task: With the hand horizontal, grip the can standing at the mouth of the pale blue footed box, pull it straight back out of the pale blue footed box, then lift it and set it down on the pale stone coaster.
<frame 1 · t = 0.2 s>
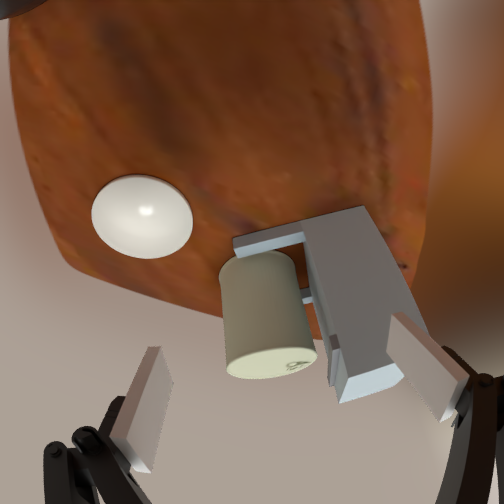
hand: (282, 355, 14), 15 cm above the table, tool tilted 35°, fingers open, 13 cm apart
pale blue footed box: (257, 274, 33), on the table
can: (257, 273, 33), on the table
coaster: (141, 219, 25), on the table
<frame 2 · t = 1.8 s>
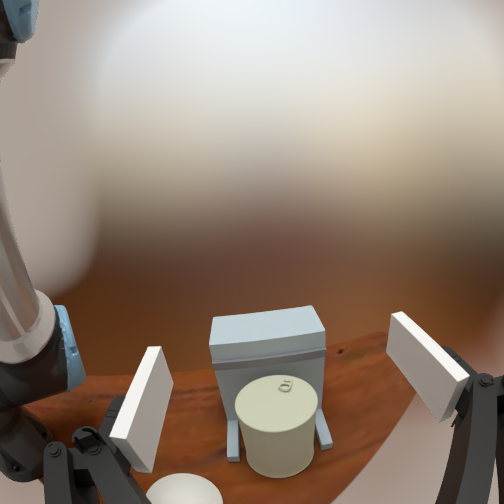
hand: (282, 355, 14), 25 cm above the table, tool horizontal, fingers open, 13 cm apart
pale blue footed box: (280, 451, 30), on the table
can: (280, 452, 30), on the table
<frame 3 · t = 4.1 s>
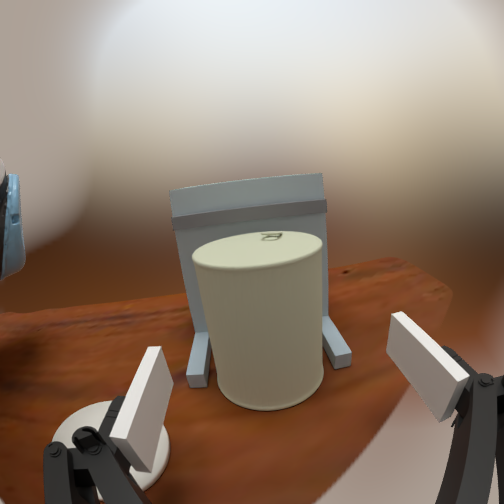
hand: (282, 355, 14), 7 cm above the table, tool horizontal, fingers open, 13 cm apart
pale blue footed box: (270, 373, 22), on the table
can: (270, 375, 23), on the table
coaster: (107, 448, 14), on the table
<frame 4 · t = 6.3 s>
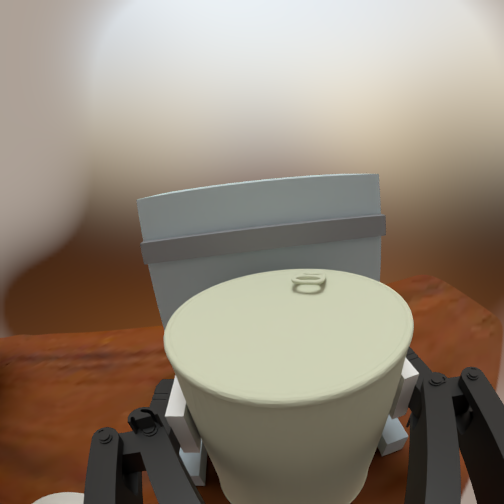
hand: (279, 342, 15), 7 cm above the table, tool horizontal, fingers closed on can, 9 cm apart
pale blue footed box: (294, 466, 13), on the table
can: (293, 468, 13), on the table, touching gripper
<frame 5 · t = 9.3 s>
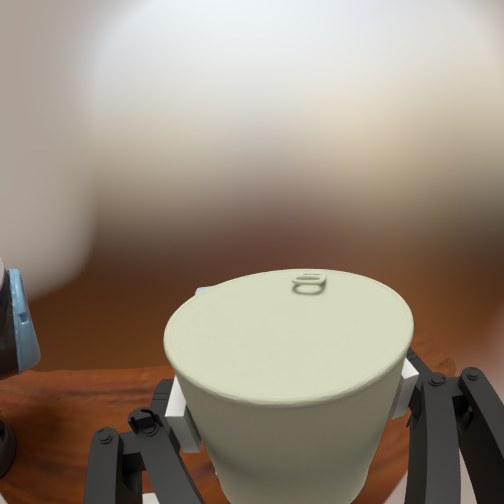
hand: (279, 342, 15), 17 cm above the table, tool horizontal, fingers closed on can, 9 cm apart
can: (293, 468, 13), point 10 cm above the table, touching gripper
when the fingers open (8 cm above the table, at t = 12.6 s): can stays where it is, resting on coaster.
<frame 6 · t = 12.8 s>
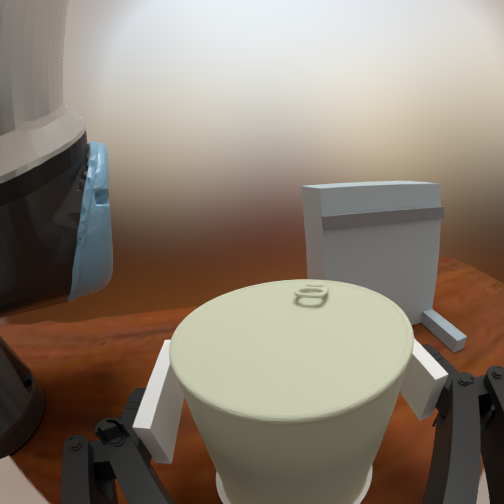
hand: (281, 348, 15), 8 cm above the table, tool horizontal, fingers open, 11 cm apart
pale blue footed box: (408, 363, 22), on the table
can: (295, 472, 13), resting on coaster
coaster: (294, 474, 13), on the table
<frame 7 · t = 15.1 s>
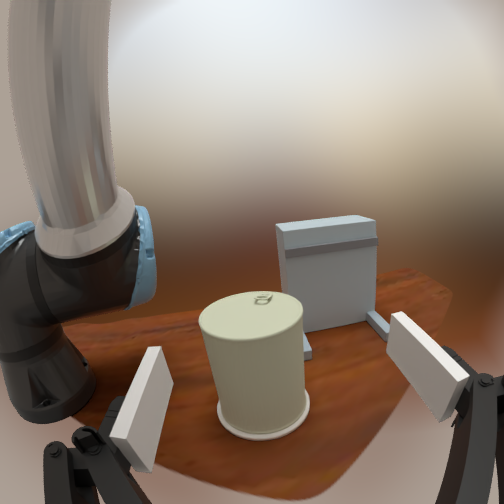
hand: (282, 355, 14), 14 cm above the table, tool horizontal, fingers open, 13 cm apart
pale blue footed box: (348, 347, 35), on the table
can: (263, 404, 27), resting on coaster
coaster: (263, 406, 27), on the table
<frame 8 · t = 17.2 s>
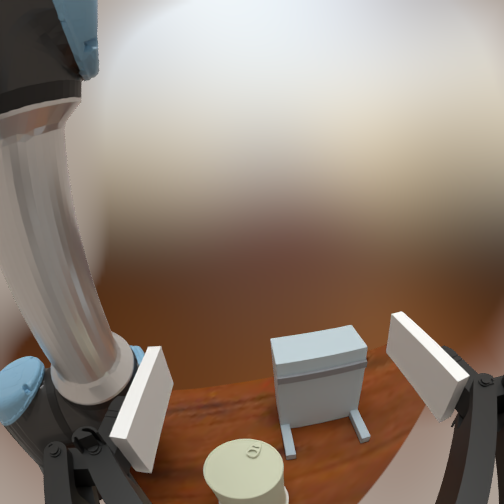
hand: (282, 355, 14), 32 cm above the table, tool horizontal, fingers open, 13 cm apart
pale blue footed box: (327, 447, 35), on the table
can: (253, 500, 27), resting on coaster
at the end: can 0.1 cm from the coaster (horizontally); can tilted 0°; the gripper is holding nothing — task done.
